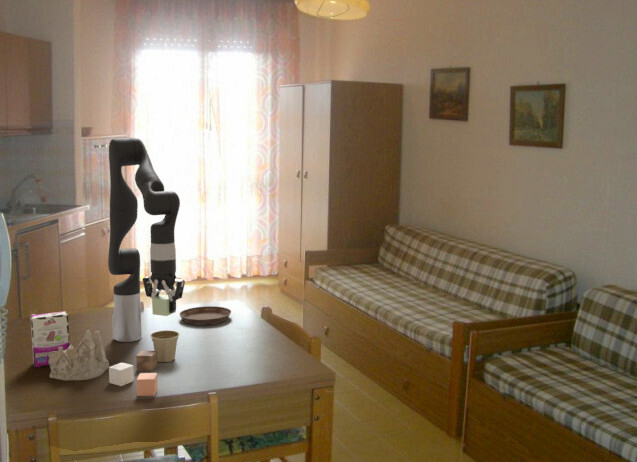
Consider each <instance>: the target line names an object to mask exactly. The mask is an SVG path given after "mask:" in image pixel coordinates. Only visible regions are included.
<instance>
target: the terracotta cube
mask: <svg viewBox="0 0 637 462" xmlns="http://www.w3.org/2000/svg"><path fill="white" fill-rule="evenodd" d="M158 384H159V383H158V372H140V373H139V374H138V376H137V379H136V395H137V397H147V396H149V397H150V396H156V394H157V391H158V387H159V385H158Z"/></svg>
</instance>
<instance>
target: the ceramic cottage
mask: <svg viewBox="0 0 637 462" xmlns="http://www.w3.org/2000/svg"><path fill="white" fill-rule="evenodd" d="M48 364H50V366H49V368H50V372H49V378H51V379H55V380H61V381H83V380H85V381H86V380H91V379H94V378H97V377H100V376H102V374H104V373H105V372H106V371H107V370H109V367H110V363H109V360H108V358H107V356H106V352H105V350H104V347H103V339H102V336H101V331H100V330H95V331H94V333H93V337H92V333H91V330H90V329H87V330H86V331H85V333H84V337H81V341H80V342H79V343H78V345H77V346H76V348H75V347H74V346H73V344H70V346H69V347H68V349H67V350H65V351H63V347H59V349H58V352H55V351H52V353H51V356H50V358H49V362H48Z"/></svg>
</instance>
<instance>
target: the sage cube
mask: <svg viewBox="0 0 637 462" xmlns="http://www.w3.org/2000/svg"><path fill="white" fill-rule="evenodd" d="M169 301H170V300H169V297H168V295H167V294H159V296H157V297H155V298H152V299H151V305H152V307H151V309H152V315H153V316H154V315H156V316H161V317H168V316H170V315H172V314H175V313H176V312H177V309H176V310H175V312H173V313H169Z"/></svg>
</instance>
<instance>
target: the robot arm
mask: <svg viewBox="0 0 637 462" xmlns="http://www.w3.org/2000/svg"><path fill="white" fill-rule="evenodd" d="M108 159H109V160H108V162H109V163H108V165H109V177H110V178H109V179H110V180H109V181H110V184H109V186H110V188H109V189H110V190H109V191H110V193H109V245H108V255H107V256H108V257H107V258H108V259H107V262H108V263H107V265H108V271H109V273H110V274H111V275H113V276H120V275H121V276H122V275H129V276H128V277H127V278H126V279H124V280H122V281H121V282H120V281H119V282H118V283H116V284H115V285H114V286H113V307H114V308H113V310H114V311H113V313H112V315H111V319H112V320H111V321H112V324H111V325H112V340H115V341H116V342H120V343H131V342H136V341H139V340H141V339H142V306H141V253H140V251H139V249H137V248H121V245H122V242H123V240H124V238H126V235H127V234H128V233H129V232H130V231H131V229H132V228H133V226H134V225H135V223H136V222H137V220H138V206H139V205H138V204H139V203H138V198H137V196H136V194H135V193H134V192H133V190H132V188H130V186H129V185H128V183H127V182H126V179H125V178H124V176H123V171H122V168H123V167H130V166H138V168H137V169H136V172H135V175H134V181H135V185H136V186H137V188H138V190H139V191H140V193H141V195H142V200H143V201H142V202H143V209H144V211H145V212H146V213H147V214H149V215H151V216H164V217H163V219H162V220H161V221H158V222H155V223H153V224H151V225H150V231H149V232H150V249H149V257H150V258H149V260H150V262H149V263H150V273H151V275H150V276H145V277H143V278H142V283H143V287H144V291H145V296H146V297H147V298H148V297H149V298H150V299H151V300H152V298H155V297H157V296H160V295H161V292H162V291H164V292H165V295H168V297H169V300H170V301H169V313H173V312H175V310H176V311H177V301H178V300H179V299H182V298H183V294H184V289H185V284H186V283H185V282H186V281H185V280H184V279H178V278H177V276H176V272H177V259H176V258H177V257H176V245H175V241H176V240H175V226H176V222H177V218H178V214H179V211H180V205H181V203H180V201H181V200H180V197H179V195H178V194H177V192H175V191H172V190H168V191H167V190H165V186H164V183H163V182H162V180H161V178H159V176H158V174H157V173H156V172H155V171H156V170H154V167H153V164H152V162H151V158H150V156H149V154H148V151H147V149H146V146H145V144H144V142H143V141H142V140H141V139H140V138H139V137H117V138H112V139H110V141H109V145H108ZM175 313H176V312H175ZM173 314H174V313H173Z"/></svg>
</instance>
